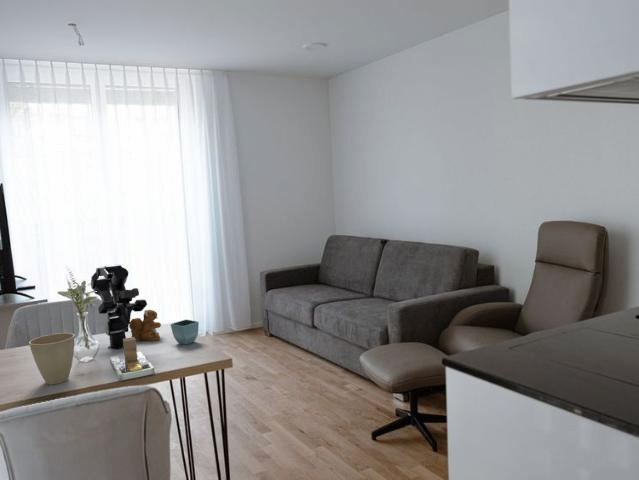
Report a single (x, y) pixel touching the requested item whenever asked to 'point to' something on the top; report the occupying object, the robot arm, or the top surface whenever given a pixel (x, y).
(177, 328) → the flower pot
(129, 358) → the brown block
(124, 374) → the tray
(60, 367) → the plant pot
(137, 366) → the yellow small block
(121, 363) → the slot bed
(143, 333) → the stuffed squirrel
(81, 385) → the top surface
